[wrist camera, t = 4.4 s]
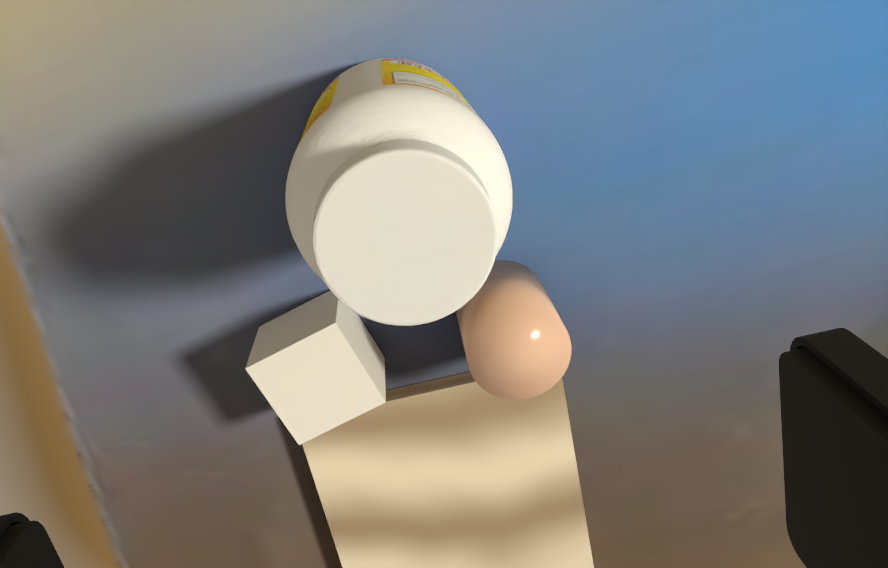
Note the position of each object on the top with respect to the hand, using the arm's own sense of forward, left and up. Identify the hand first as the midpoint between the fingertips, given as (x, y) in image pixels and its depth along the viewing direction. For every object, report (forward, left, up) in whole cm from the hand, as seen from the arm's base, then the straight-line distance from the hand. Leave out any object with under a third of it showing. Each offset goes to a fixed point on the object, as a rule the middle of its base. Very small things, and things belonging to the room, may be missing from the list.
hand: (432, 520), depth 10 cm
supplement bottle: (0, 0, -23) cm, 23 cm away
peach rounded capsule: (+8, +3, -23) cm, 25 cm away
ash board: (+18, -1, -23) cm, 29 cm away
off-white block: (+8, -5, -23) cm, 25 cm away
